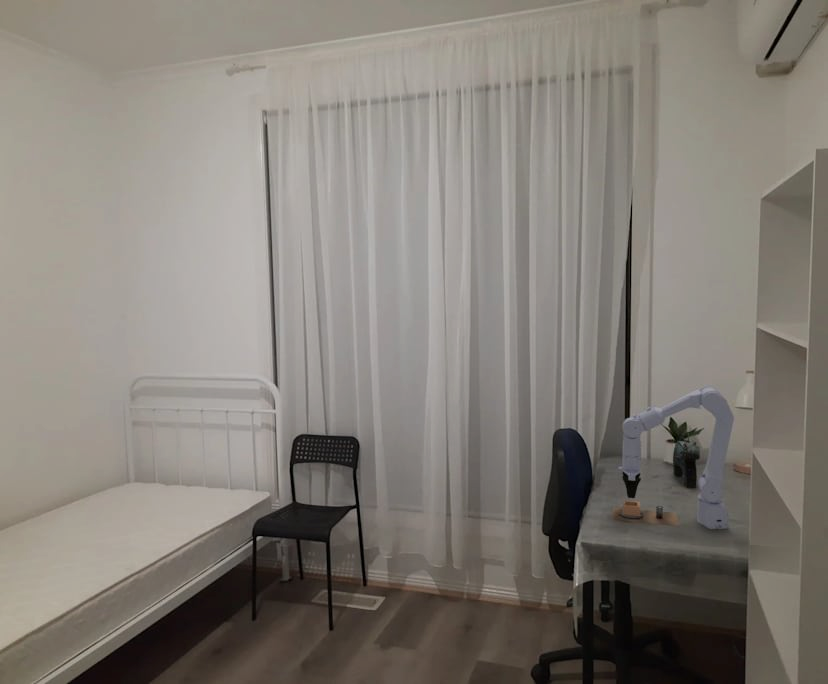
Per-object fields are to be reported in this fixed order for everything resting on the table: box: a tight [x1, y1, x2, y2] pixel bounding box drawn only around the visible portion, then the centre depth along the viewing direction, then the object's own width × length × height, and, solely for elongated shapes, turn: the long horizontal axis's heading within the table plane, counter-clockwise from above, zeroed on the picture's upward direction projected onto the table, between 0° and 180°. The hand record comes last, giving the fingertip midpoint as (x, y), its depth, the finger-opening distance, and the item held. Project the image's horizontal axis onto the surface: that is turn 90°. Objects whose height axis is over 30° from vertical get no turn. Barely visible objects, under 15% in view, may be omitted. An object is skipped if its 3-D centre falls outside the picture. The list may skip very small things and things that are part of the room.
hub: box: [619, 505, 643, 519], centre depth 207 cm, size 8×8×3 cm
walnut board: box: [612, 507, 680, 527], centre depth 206 cm, size 20×12×2 cm, turn 72°
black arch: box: [672, 432, 701, 489], centre depth 246 cm, size 20×6×20 cm, turn 173°
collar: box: [622, 500, 641, 516], centre depth 207 cm, size 5×5×3 cm
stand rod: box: [655, 505, 664, 519], centre depth 204 cm, size 2×2×4 cm
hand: (631, 495), depth 206 cm, fingers open, 3 cm apart
